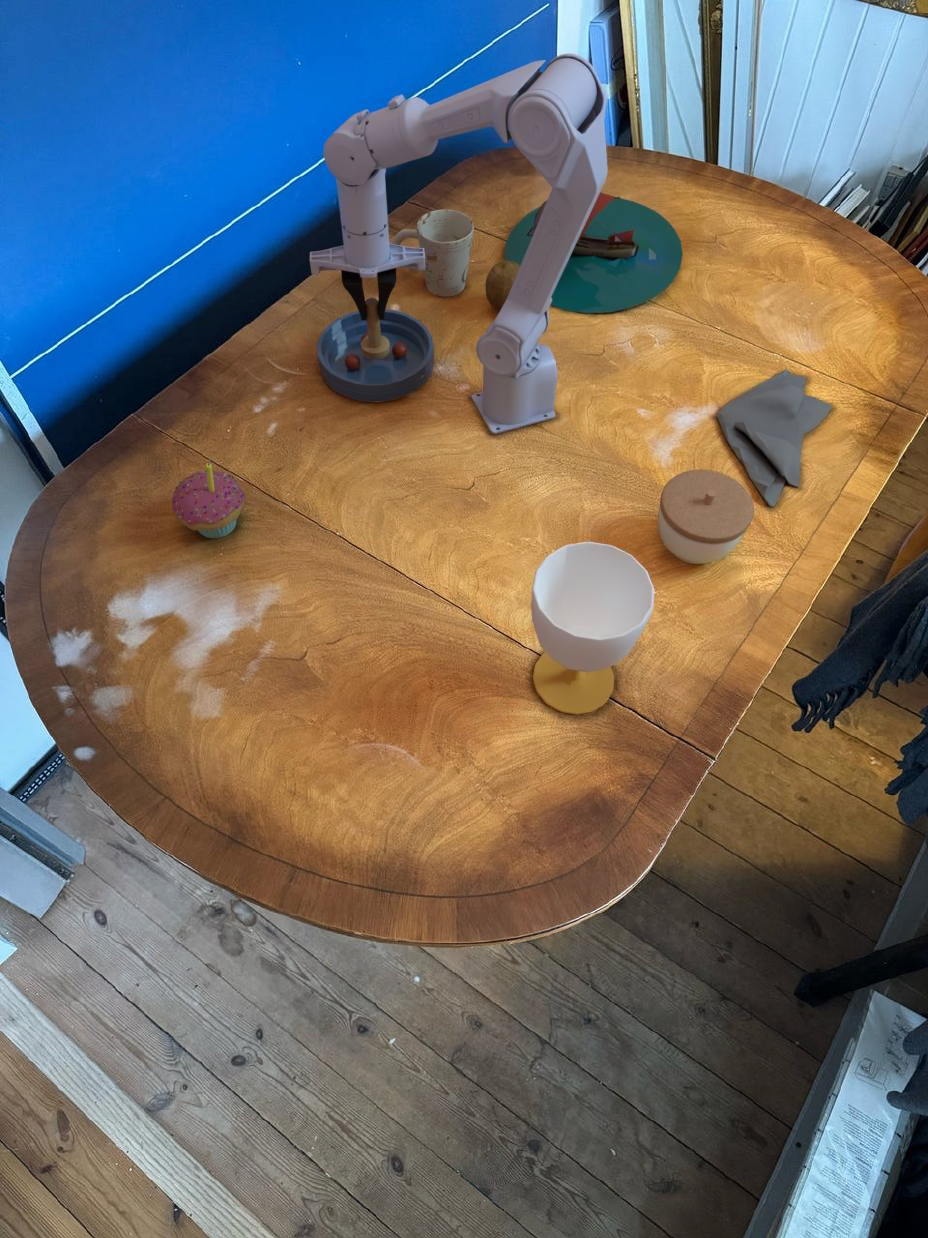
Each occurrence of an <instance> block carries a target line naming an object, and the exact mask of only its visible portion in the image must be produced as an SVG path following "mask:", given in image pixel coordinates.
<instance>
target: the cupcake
mask: <svg viewBox="0 0 928 1238" xmlns="http://www.w3.org/2000/svg"><path fill="white" fill-rule="evenodd" d="M210 461H211V460H210V459H208V461H207V463H206V464H205V470H202V471H196V472H192V474H191V475H189V476H187V477H185V478H183V479H182V480H181V481H180V482H179V483H178V485H177V486H176V487H175V488H174V490H173V493H172V497H171V512H172V515H174V517H175V518H176V519H177V520H178V522H180V523H181V524H182V525H184V527H187V528H188V529H190V530H191V531H198V533H199V534H201V535H202V536H204V537H205V538H209V539H220V538H223V537H226V536H227V535H229V534H230V533H232V532H233V531H234V530H235V528H236V525H237V519H238V518H239V516H240V514H241V512H242V510H243V508H244V505H245V497H246V496H245V491H244V489H243V488H242V487H241V486H240V484H239V483H238V481H237V480H236V479H235V478H234V476H231V474H228V473H226V472H225V471H217V470H213V467H212V463H211V462H210Z"/></svg>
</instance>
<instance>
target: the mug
mask: <svg viewBox="0 0 928 1238" xmlns="http://www.w3.org/2000/svg"><path fill="white" fill-rule="evenodd" d="M474 226H475V225H474V221H473V220H472V219H471V217H470V216H468V215H467V214H466V213H463V212H462V211H458V210H454V209H436V210H432V211H429V212H427V213H424V214H423V215H422V216H420V218H419V219H418V221H417V223H416V229H412V228H406V229H405V228H404V229H401V230H400V231H398V232H397V233H396V234H395V235H394V237H393V239H392V242H391V244H395V245H402V242H403V241H404V240H406V239H408V238H409V239H417V240H418V246H419V248H424V252H425V270H417V267H410V268H407V270H410V271H419V272H423V275H424V280H425V281H424V282H425V285H426V288H427V291H428V292H429V293H431V294H433V295H435V296H437V297H443V298H445V297H446V298H447V297H448V298H449V297H454V296H457V295H458V294H460V293H461V292H463V291H464V289H465V286H466V282H467V276H468V270H469V263H470V257H471V251H472V244H473V238H474V231H475V227H474Z"/></svg>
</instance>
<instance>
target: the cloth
mask: <svg viewBox="0 0 928 1238" xmlns="http://www.w3.org/2000/svg"><path fill="white" fill-rule="evenodd" d="M806 381H807V378H806V377H805V376H802V375H797V374H792V373H791V371H789V370H788V369H787V368H785V369H784V370H781V371H780V372H778V373H777V374H775V375H773V376H772V377H770V378H769V379H766V380H764V381H761V382H760V383H759V384H757V385H755V386H753V387H752V388H750V389H748V390H746V391H744V392H743V393H741V394H739V395H738V396H736V398H734V399H732V400H731V401H729V402H727V403H725V404H724V405H723V406H722V407H721V408H720V410H719V412H718V414H717V415H716V418H717V420H718V423H719V425H720V427H721V430H722V433H723V436H724V438H725V440H726V442H727V443H728V444H729V446H730V447H731V449H732V450H733V452H734V454H735V455H736V457H737V458H738V460H739V462H741V463H742V464H743V466H744V467H745V470H746V472H747V474H748V477H749V479H750V480H751V481H752V483H753V484H754V485H755V487H756V489H757V490H758V492H759V494H760V495H761V496H762V497H763V499H764V500H765V502H766V503H767V505H768V506H769V508H775V507H776V504H777V503H778V501H779V499H780V497H781V494H782V491H783V489H784V486H785V483H786V482H787V483H788V484H789V485H791V486H793V487H795V488H797V489H798V488H799V486H800V475H801V473H800V472H801V460H802V459H801V458H802V449H803V441H802V440H803V439H804V437H805V435H806V434H808V433H810V432H811V431H813V430H814V429H815V428H816V427H818V425H820V424H821V423H822V421H824V419H825V418H826V417H827V415H828V414H829V413H830V411H831V410H832V408H833V406H832V405H831V404H830V403H827V402H825V401H823V400H821V399H819V398H817V397H815V396H812V395H807V394H805V387H806V383H807V382H806Z"/></svg>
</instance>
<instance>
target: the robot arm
mask: <svg viewBox="0 0 928 1238" xmlns="http://www.w3.org/2000/svg"><path fill="white" fill-rule="evenodd" d="M546 61H547V60H546V59H542V60H535V61H532V62H530V63H527V64H524V65H522V66H520V67H518V68H516V69H513V70H511V71H508V72H505V73H504V74H501V75H499V76H496V77H493V78H491V79H489V80H487V81H485V82H482V83H480V84H477V85H475V86H473V87H470V88H468V89H466V90H465V89H464V90H463V91H460V92H458V93H455V94H453V95H451V96H449V97H446V98H444V99H442V100H439V101H437V102H434V103H432V104H429V102H427V101H426V100H425V99H422V98H420V97H416V96H414V97H410V98H408V99H406V98H405V97H404V95H403V94H398V95H396V96H394V97H392V99H390V100H389V102H388V103H387V106H386V107H383V108H380V109H377V110H375V111H371V112H370V111H369V110H368V109H363V110H360V111H359V112H355V113H353V114H352V115H351V116H350V117H349V118H348V119H346V120H345V122H343V123H342V124H341V125H339V127H338V128H337V129H336V130H335V131H334V132H333V133H331V134H330V135H329V137H328V138H327V139H326V140H325V143H324V145H323V159H324V163H325V165H326V167H327V168H328V170H329V172H330V173H331V174H332V175H333V177H334V178H335V179H336V190H337V196H338V207H339V214H340V216H339V217H340V224H341V233H342V243H343V245H340V246H335V247H331V248H327V249H323V250H317V251H310V252H309V265H310V272H311V275H319V274H321V272H325V271H340V273H341V274H340V275H341V284H342V287H343V288H344V290H345V291H347V293H348V294H349V295H350V297H351V298H352V300H353V302H354V304H355V306H356V308H357V311H359V313H360V316H361V320H367V318H366V308H365V301H366V297H365V292H364V285H363V279H374V278H376V277H377V280H376V281H377V290H378V296H377V297H378V299H377V300H378V303H379V320H384V316H385V309H387V305H388V301H389V299H390V296H391V294H392V292H393V290H394V288H395V287H396V284H397V281H398V276H397V269H408V268H410V267H417V270H425V252H424V248H420V247H412V246H406V245H402V244H400V245H395V244H392V243H390V234H389V233H390V231H389V218H388V217H389V216H388V202H387V188H386V187H387V186H386V173H387V169H390V168H393V167H395V166H399V165H402V164H405V163H408V162H412V161H415V160H418V159H422V158H424V157H428V156H430V155H432V154H433V153H434V152H435V150H436V148H437V145H438V143H439V140H441V139H447V138H450V137H453V136H458V135H462V134H465V133H469V132H474V131H477V130H481V129H485V128H490V127H491V128H493V129H494V130H495V132H496V133H497V134H498V136H499V137H500V139H501V141H502V142H503V143H505V144H509V143H510V141H513V143H514V145H515V146H516V148H517V149H518V150H519V151H520V153H521V154H522V155H523V156H524V157H525V158H526V160H528V162H529V163H530V164H531V165H532V166H533V168H534V169H535V170H536V171H537V172H538V173H539V174H540V176H542V178H543V179H544V180H545V181H546V182H547V183H548V184H549V186H550V187H551V190H550V193H549V195H548V198H547V199H546V201H547V203H546V205H545V208H544V210H543V212H542V215H541V217H540V220H539V222H538V225H537V227H536V229H535V232H534V234H533V237H532V239H531V242H530V244H529V246H528V249H527V251H526V254H525V256H524V259H523V261H522V263H521V266H520V268H519V271H518V273H517V276H516V278H515V281H514V283H513V285H512V288H511V290H510V293H509V295H508V298H507V300H506V301H505V303H504V305H503V307H502V309H501V310H500V312H498V314H497V315H496V316H495V318H494V320H493V321H492V323H491V324H490V325H489V327H488V328H487V329H486V330H485V332H484V333H483V334H481V336H480V337H479V338H478V340H477V342H476V346H475V349H476V350H475V351H476V356H477V359H478V360H479V362H480V363H481V364H482V366H483V369H482V391H480V392H475V393H473V394H471V401H472V402H473V404H474V406H475V408H476V409H477V411H478V413H479V414H480V416H481V418H482V420H483V421H484V424H485V425H486V426H487V429H488V430H489V431H490V434H492V435H498V434H501V433H504V432H508V431H513V430H517V429H520V428H523V427H527V426H530V425H534V424H538V423H542V422H545V421H549V420H553V419H555V418H556V415H557V414H556V412H555V410H554V409H555V400H556V394H557V385H558V368H557V362H556V359H555V356H554V354H553V351H552V350H551V348H550V347H549V345H546V344H539V342H540V339H541V338H542V336H543V335H544V334H545V333H546V331H548V328H549V325H550V313H549V312H550V307H551V305H550V304H551V302H552V298H551V296H552V294H553V292H554V290H555V288H556V286H557V283H558V281H559V279H560V277H561V275H562V273H563V271H564V269H565V266H566V264H567V262H568V260H569V258H570V256H571V254H572V251H573V249H574V247H575V245H576V243H577V241H578V239H579V236H580V234H581V232H582V230H583V228H584V226H585V224H586V221H587V219H588V217H589V215H590V213H591V211H592V209H593V206H594V204H595V202H596V200H597V198H598V196H599V194H600V192H601V193H602V190H603V187H604V185H605V184H606V180H607V176H608V174H609V173H608V171H609V170H608V169H609V168H608V155H607V139H606V127H605V126H606V125H605V120H606V119H605V117H606V111H607V104H608V99H609V98H608V94H607V93H606V90H605V88H604V86H603V84H602V82H601V79H600V78H599V75H598V73H597V71H596V69H595V68H594V66H593V65H592V63H590V61H589V60H587V59H585V58H584V57H583V56H581V55H578V54H575V53H562V54H559V55H557V56H555V57H553V58H552V59H551V61H549V62H548V64H547V65H546V67H545V68H544V70H543V71H541V68H542V67H543V65H544V63H546ZM417 270H416V271H417Z"/></svg>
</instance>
